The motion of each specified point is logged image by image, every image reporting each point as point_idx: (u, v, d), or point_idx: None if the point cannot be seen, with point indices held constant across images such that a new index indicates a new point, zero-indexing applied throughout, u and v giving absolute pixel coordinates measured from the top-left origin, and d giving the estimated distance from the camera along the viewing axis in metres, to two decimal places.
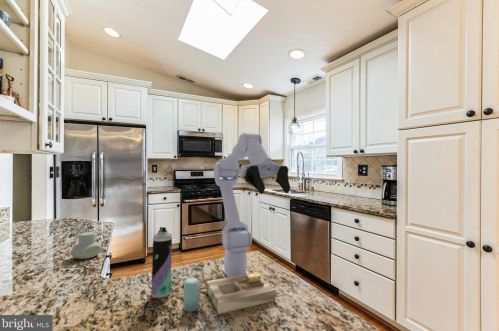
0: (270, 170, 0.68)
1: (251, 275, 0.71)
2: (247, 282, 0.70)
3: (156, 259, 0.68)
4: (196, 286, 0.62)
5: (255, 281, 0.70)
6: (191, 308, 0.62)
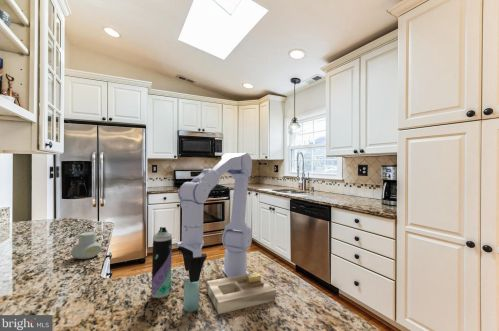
0: None
1: (251, 275, 0.71)
2: (247, 282, 0.70)
3: (156, 259, 0.68)
4: (196, 286, 0.62)
5: (255, 281, 0.70)
6: (191, 308, 0.62)
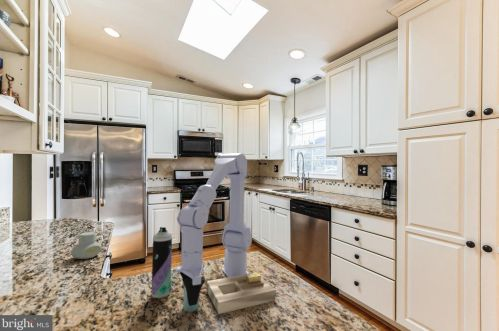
0: None
1: (251, 275, 0.71)
2: (247, 282, 0.70)
3: (156, 259, 0.68)
4: None
5: (255, 281, 0.70)
6: (191, 308, 0.62)
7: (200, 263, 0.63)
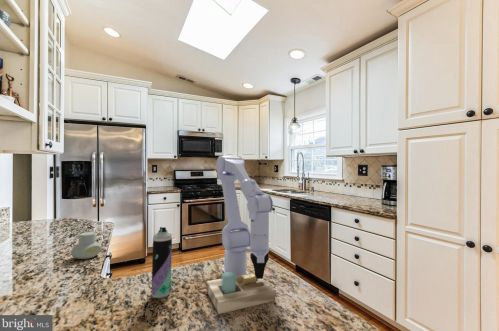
0: None
1: (246, 276, 0.70)
2: (242, 283, 0.70)
3: (156, 259, 0.68)
4: (233, 279, 0.67)
5: (250, 282, 0.70)
6: None
7: (266, 246, 0.70)
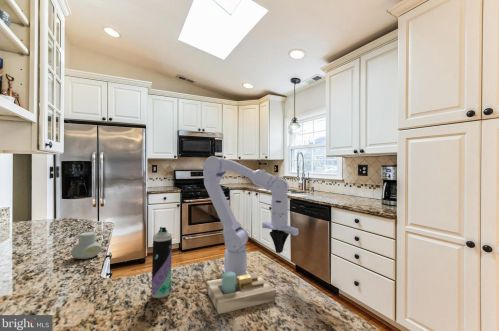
0: None
1: (242, 277, 0.70)
2: (238, 284, 0.69)
3: (156, 259, 0.68)
4: (233, 279, 0.67)
5: (246, 283, 0.69)
6: None
7: (287, 222, 0.81)
